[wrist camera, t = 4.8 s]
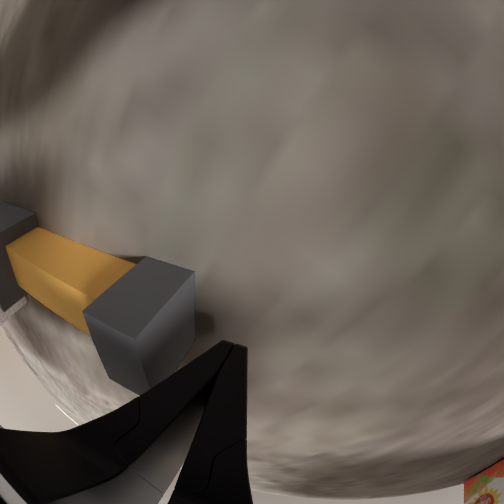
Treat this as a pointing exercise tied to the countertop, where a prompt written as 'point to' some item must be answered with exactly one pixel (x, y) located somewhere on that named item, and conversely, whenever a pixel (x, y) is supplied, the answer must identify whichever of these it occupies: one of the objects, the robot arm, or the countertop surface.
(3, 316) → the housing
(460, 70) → the countertop surface
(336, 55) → the countertop surface
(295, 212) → the countertop surface
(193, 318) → the plug
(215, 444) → the robot arm
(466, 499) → the cracker box
